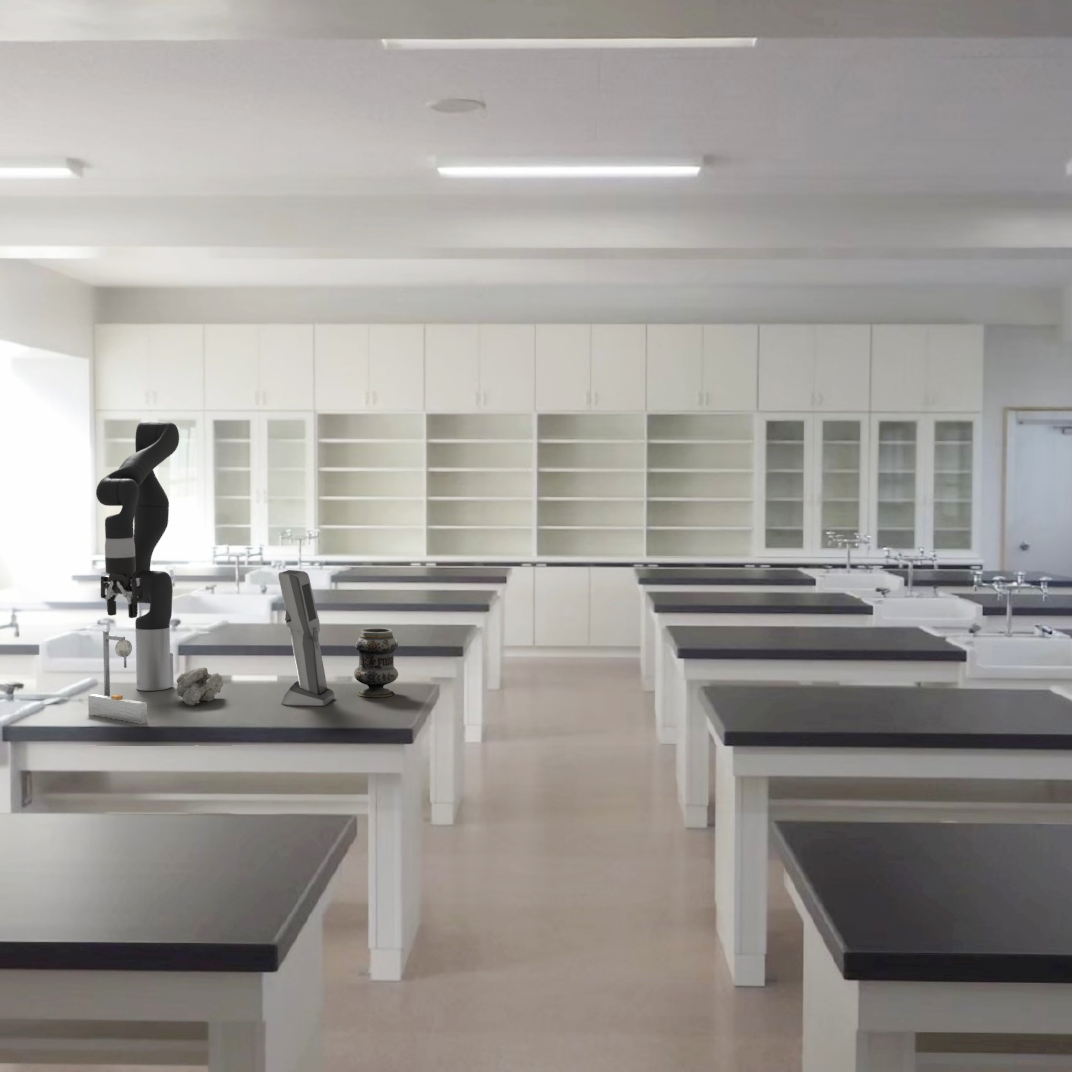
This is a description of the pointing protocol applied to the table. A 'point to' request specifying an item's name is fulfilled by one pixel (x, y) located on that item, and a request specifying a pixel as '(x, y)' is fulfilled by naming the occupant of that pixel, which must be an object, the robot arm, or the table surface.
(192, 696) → the mineral
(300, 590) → the thermal camera
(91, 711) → the rail
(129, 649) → the dial indicator stand
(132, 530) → the robot arm
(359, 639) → the apothecary jar
